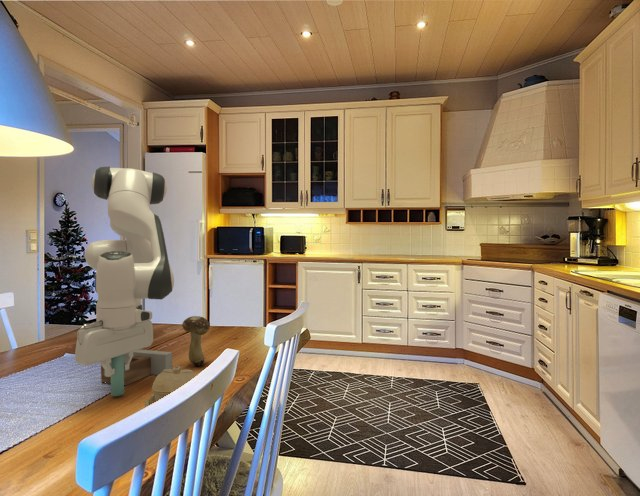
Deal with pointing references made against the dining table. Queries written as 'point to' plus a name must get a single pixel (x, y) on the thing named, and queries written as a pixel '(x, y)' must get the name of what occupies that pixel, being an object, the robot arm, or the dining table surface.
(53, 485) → the dining table surface
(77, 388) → the dining table surface
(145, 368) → the open box
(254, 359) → the dining table surface
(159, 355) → the wall
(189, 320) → the mushroom
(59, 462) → the dining table surface
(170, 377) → the ceramic model
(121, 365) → the green rectangular block
